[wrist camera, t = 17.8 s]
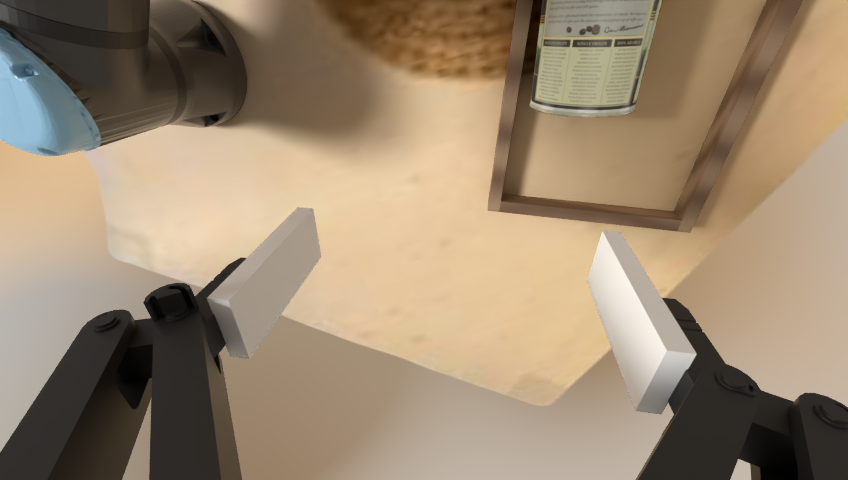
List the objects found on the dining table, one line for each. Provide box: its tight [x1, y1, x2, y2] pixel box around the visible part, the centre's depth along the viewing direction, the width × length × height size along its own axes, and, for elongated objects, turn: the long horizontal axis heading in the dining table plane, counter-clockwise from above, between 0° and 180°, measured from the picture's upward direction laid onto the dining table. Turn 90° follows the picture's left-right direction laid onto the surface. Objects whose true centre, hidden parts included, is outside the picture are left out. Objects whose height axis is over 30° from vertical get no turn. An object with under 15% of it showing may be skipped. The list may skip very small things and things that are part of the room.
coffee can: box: [530, 0, 662, 117], centre depth 34 cm, size 10×10×14 cm
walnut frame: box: [488, 0, 803, 233], centre depth 39 cm, size 33×25×2 cm
